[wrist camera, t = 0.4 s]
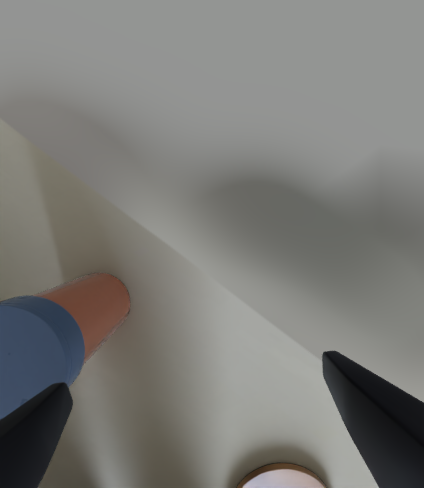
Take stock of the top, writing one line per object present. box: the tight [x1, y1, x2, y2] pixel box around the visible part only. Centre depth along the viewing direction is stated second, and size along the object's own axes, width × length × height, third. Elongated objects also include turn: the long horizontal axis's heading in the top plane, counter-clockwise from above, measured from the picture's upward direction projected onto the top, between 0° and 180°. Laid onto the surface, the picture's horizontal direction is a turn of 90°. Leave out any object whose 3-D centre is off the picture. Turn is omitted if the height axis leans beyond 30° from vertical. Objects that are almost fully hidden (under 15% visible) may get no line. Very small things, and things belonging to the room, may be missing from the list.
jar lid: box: [0, 296, 85, 420], centre depth 13 cm, size 7×6×2 cm
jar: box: [32, 273, 130, 366], centre depth 18 cm, size 6×6×10 cm
